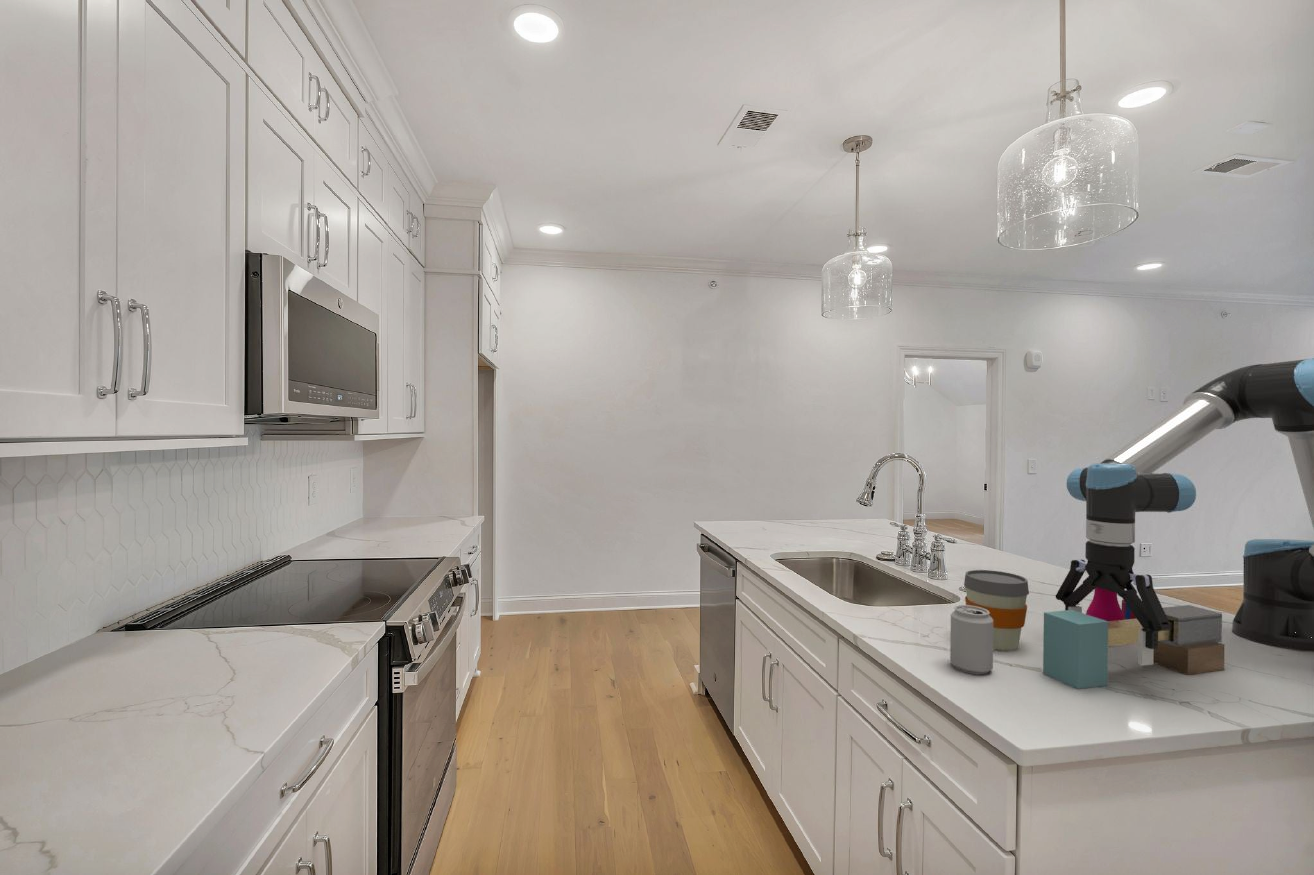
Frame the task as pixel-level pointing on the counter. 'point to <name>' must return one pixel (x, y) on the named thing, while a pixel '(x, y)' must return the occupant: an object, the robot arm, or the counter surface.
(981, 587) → the reusable coffee cup
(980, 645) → the can
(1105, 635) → the socket block
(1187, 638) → the sleeve stand
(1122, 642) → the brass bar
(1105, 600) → the pepper mill
